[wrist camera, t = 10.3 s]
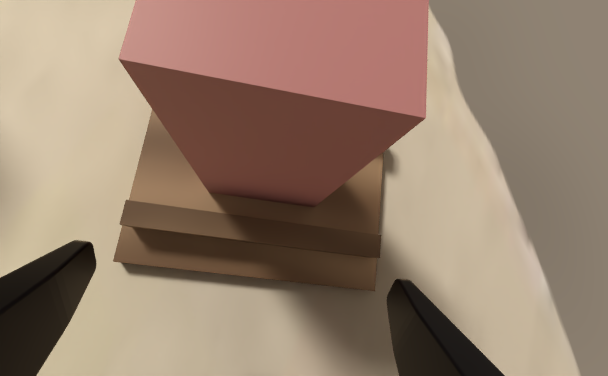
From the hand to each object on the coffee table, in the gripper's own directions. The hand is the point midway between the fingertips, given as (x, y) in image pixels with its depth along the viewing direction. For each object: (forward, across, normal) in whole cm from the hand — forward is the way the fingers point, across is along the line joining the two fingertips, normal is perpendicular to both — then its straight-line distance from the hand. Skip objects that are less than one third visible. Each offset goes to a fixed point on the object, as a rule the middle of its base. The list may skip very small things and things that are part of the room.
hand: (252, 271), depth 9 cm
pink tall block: (+9, 0, +2) cm, 9 cm away
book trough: (+10, 0, +2) cm, 10 cm away
